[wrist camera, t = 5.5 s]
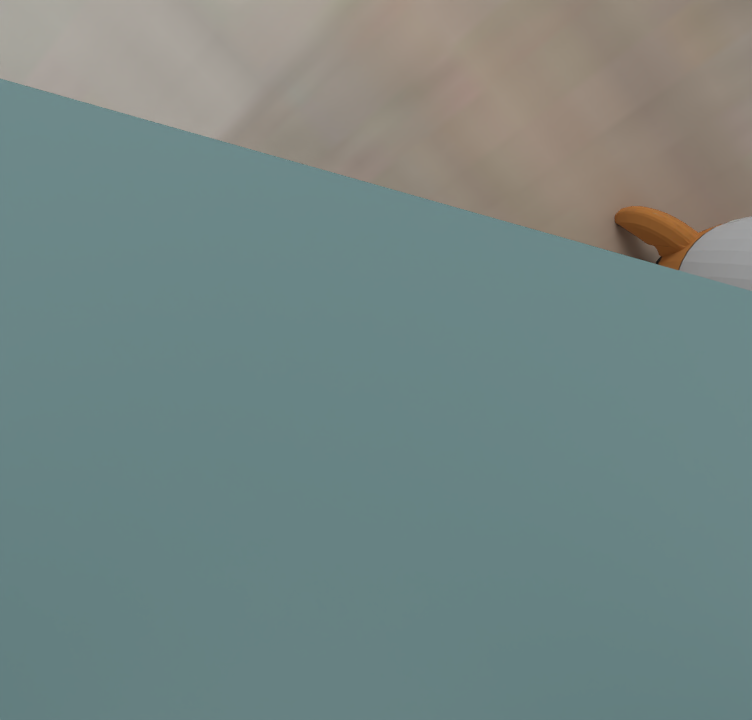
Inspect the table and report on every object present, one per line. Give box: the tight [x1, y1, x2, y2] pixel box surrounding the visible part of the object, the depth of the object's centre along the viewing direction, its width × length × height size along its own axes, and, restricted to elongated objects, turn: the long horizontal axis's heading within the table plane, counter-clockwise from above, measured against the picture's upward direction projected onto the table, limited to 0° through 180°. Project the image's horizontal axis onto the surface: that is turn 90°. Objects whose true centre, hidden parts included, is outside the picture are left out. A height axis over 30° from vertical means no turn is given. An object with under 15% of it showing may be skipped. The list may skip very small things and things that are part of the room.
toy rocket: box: [615, 206, 752, 291], centre depth 25 cm, size 10×11×15 cm
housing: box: [0, 79, 752, 720], centre depth 8 cm, size 9×13×9 cm
